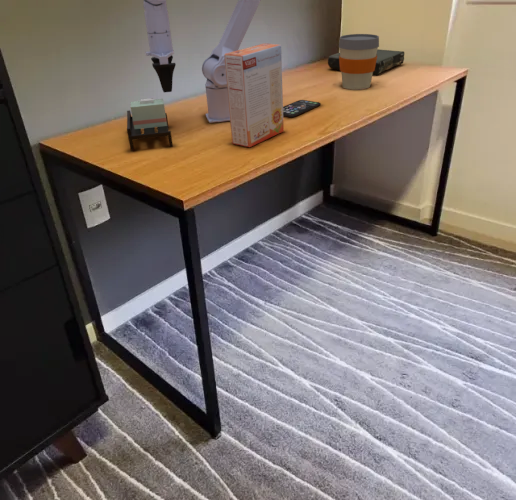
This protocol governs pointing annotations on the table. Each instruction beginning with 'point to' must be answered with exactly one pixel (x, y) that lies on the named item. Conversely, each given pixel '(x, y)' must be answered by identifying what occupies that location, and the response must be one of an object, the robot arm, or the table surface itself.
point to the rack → (146, 132)
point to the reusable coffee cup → (357, 59)
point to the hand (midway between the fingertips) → (166, 88)
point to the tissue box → (148, 113)
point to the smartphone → (299, 107)
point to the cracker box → (255, 93)
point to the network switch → (383, 60)
